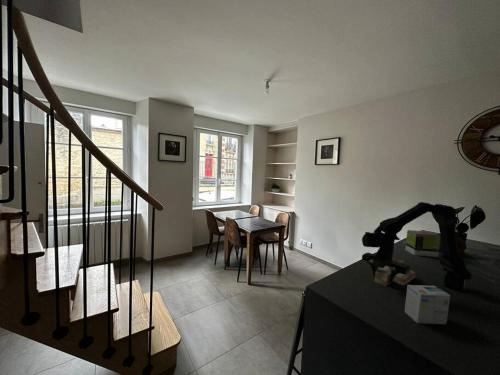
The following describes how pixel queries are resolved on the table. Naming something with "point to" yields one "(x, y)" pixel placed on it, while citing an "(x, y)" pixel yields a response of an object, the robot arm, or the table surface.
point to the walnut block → (396, 262)
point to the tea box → (423, 243)
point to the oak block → (382, 277)
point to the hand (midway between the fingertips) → (382, 280)
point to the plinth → (401, 276)
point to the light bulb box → (427, 304)
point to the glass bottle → (459, 242)
